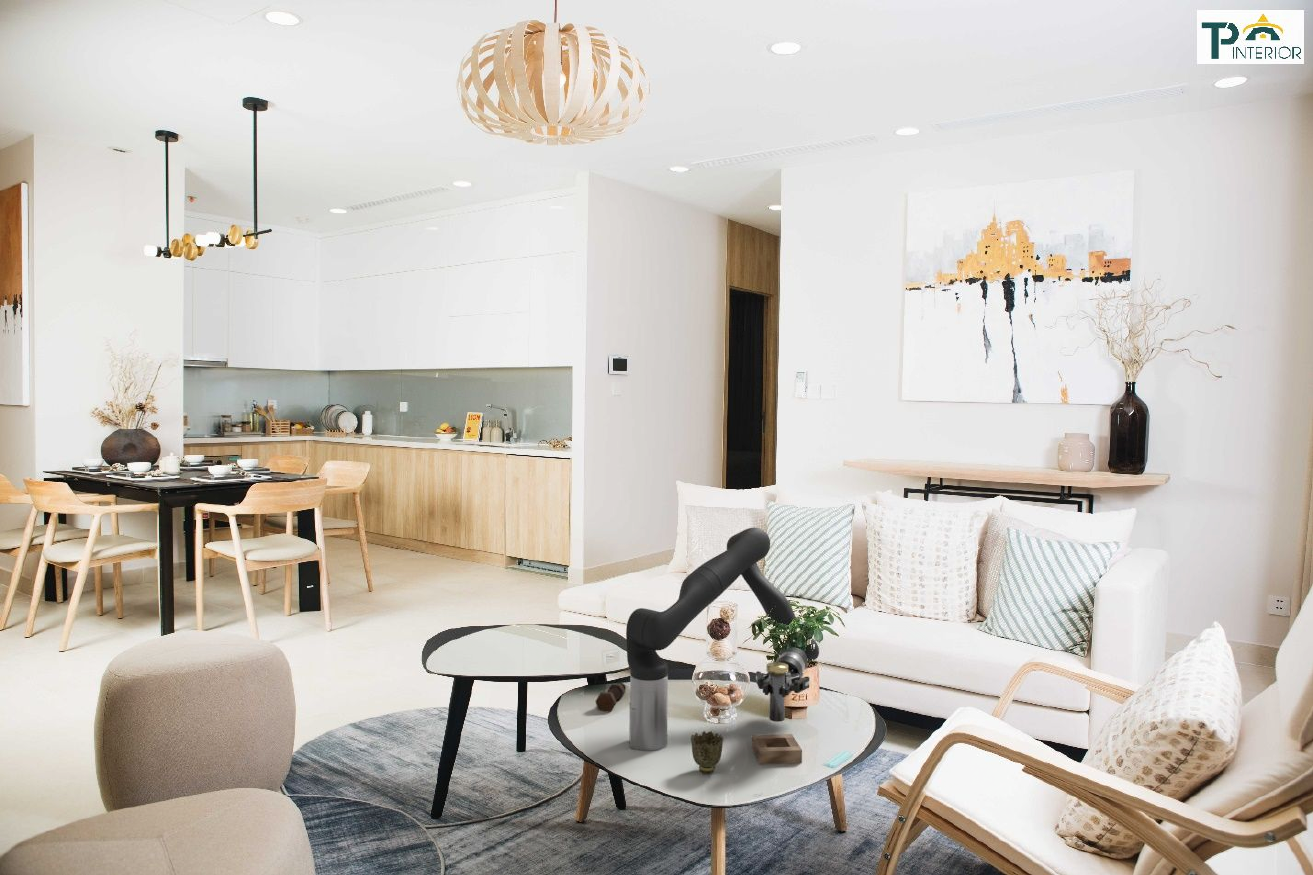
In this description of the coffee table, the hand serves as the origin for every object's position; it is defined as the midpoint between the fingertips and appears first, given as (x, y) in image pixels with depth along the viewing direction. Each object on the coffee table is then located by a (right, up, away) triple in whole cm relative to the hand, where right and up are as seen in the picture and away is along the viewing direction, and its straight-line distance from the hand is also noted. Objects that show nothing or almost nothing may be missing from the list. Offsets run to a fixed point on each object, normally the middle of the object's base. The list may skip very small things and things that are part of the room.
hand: (774, 691), depth 209 cm
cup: (-16, -17, -6) cm, 24 cm away
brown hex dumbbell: (-40, -15, +39) cm, 58 cm away
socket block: (+1, -16, +3) cm, 16 cm away
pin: (+1, -7, +3) cm, 8 cm away
